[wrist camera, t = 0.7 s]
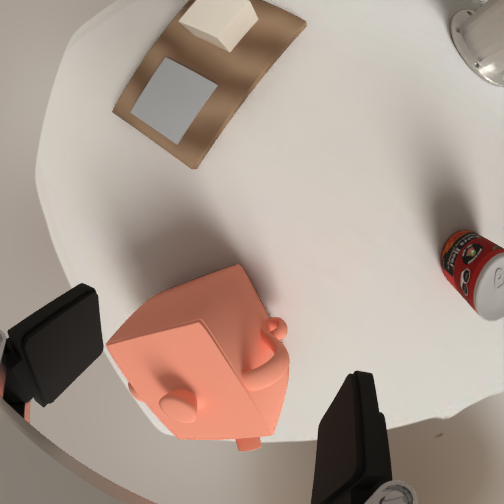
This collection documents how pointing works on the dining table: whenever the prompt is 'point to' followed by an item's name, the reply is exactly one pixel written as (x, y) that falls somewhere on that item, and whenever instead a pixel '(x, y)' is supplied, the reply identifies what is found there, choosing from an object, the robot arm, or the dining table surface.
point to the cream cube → (220, 21)
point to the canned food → (476, 272)
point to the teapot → (207, 359)
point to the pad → (173, 99)
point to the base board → (212, 75)
